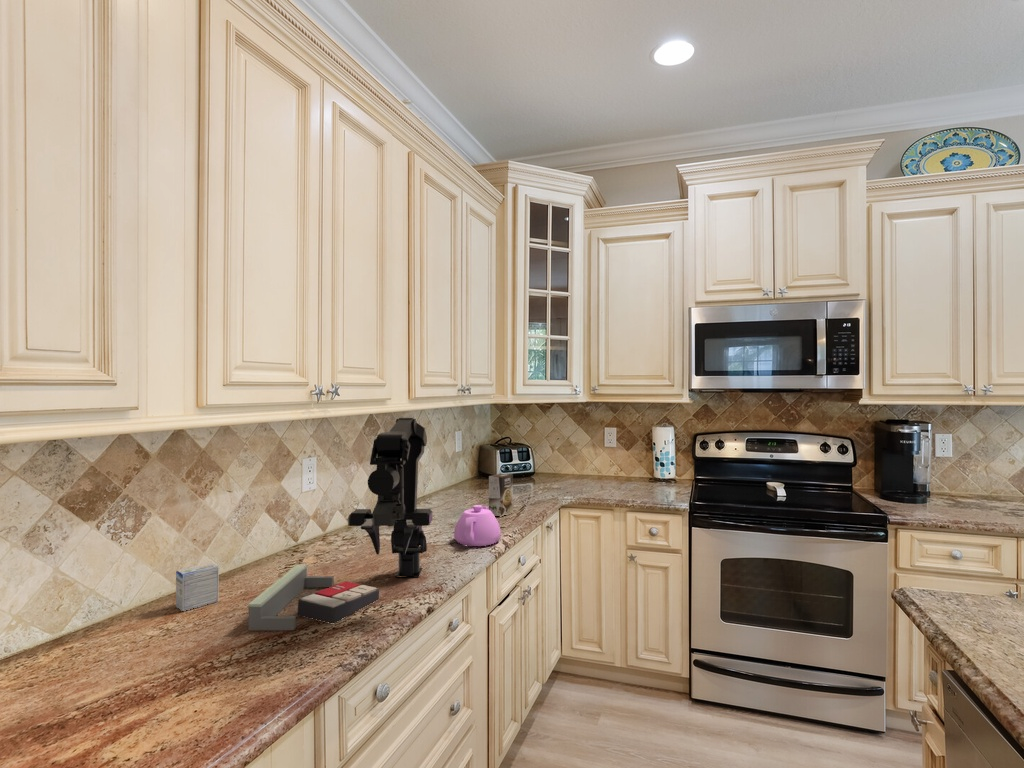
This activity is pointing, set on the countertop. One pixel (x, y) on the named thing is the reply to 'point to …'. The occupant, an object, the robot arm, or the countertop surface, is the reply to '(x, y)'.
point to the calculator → (337, 601)
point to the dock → (282, 599)
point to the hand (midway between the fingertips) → (391, 554)
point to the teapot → (477, 527)
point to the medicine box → (197, 586)
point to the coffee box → (501, 494)
